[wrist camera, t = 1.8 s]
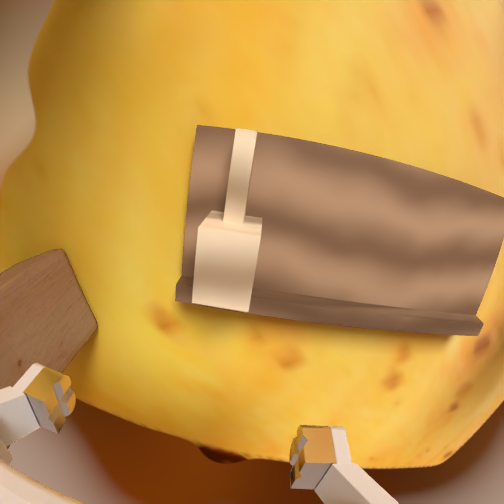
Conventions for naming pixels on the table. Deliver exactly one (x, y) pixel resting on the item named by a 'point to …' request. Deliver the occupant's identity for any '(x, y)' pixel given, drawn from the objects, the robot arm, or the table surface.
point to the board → (352, 236)
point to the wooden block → (41, 316)
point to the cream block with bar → (230, 238)
